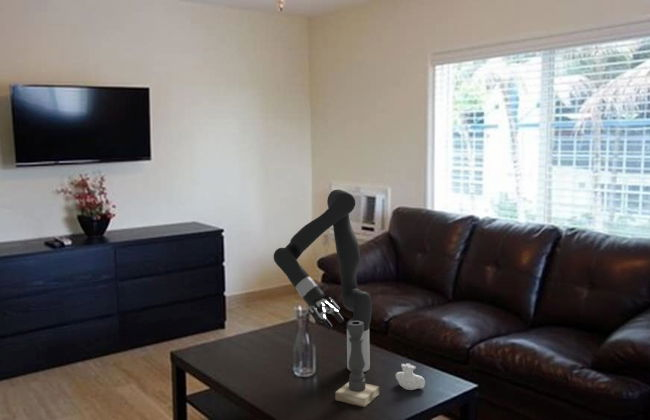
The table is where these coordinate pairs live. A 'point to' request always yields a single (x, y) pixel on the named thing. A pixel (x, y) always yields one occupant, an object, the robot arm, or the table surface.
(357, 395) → the birch plate
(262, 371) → the table surface
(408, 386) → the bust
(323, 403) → the table surface
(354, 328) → the candle holder
